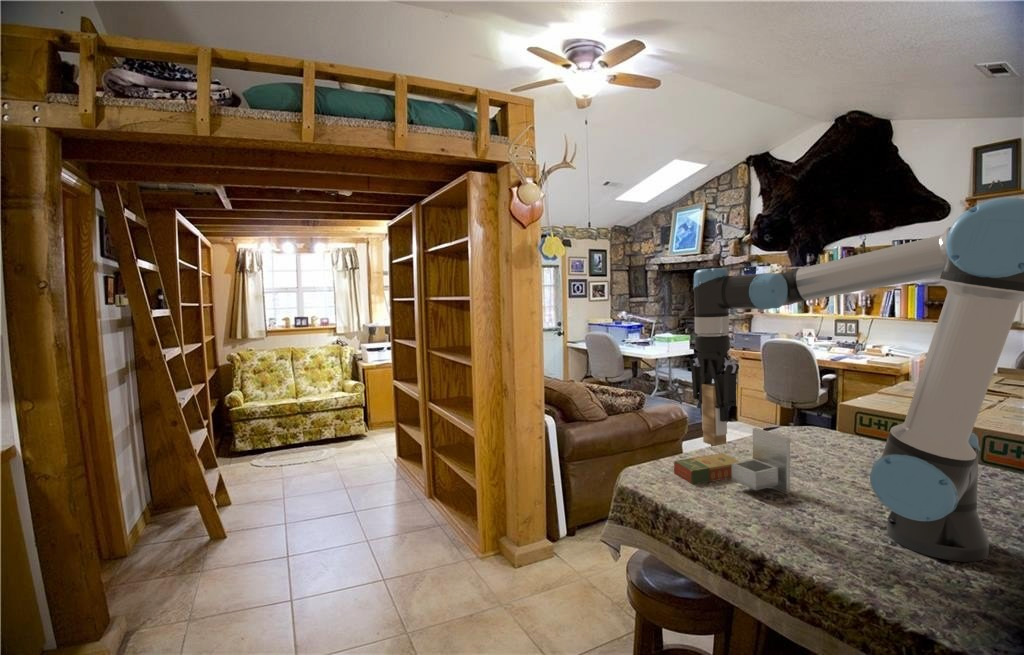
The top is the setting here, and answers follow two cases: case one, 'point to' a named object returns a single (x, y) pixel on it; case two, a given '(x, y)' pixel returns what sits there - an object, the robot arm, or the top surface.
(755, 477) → the bracket
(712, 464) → the carton
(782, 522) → the top surface
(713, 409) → the block
